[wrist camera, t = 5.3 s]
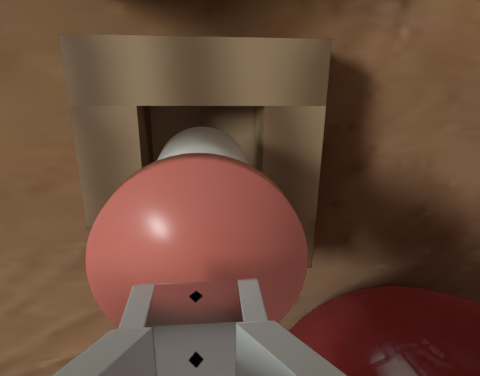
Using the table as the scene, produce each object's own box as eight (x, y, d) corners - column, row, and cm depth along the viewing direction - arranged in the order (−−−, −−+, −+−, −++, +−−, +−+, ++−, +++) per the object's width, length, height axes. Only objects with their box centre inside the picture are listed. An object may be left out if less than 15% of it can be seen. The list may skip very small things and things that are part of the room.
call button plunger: (261, 113, 19) (316, 160, 9) (258, 221, 21) (300, 348, 12) (139, 113, 18) (69, 163, 9) (148, 224, 20) (99, 361, 11)
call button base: (306, 44, 23) (332, 38, 19) (294, 233, 28) (311, 267, 23) (90, 40, 22) (58, 33, 17) (113, 239, 27) (93, 276, 22)
